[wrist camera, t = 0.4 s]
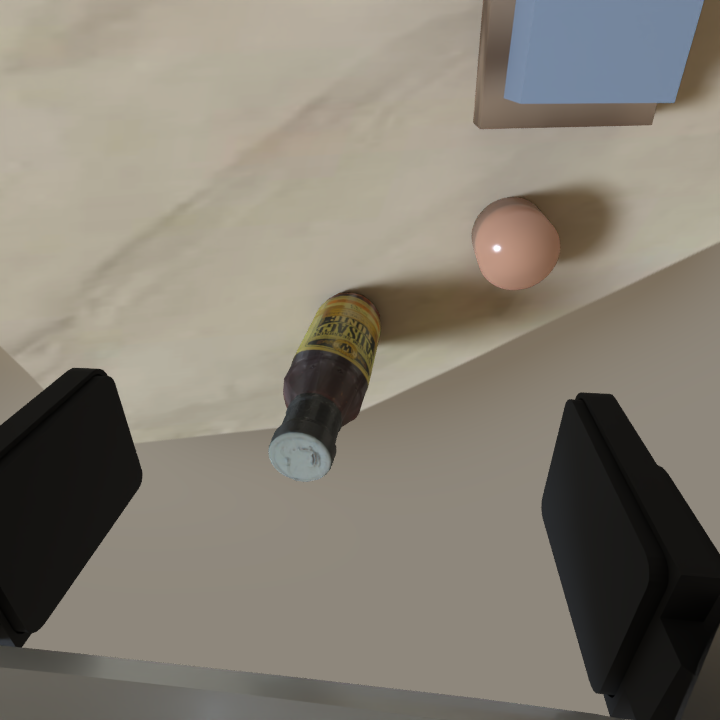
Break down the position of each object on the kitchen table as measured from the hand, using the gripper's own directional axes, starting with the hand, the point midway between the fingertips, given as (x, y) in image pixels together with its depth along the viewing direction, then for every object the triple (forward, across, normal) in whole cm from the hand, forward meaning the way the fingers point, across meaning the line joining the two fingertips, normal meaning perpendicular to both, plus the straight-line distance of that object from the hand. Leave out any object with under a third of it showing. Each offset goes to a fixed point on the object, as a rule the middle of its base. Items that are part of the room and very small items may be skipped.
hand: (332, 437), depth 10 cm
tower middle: (+29, -11, -10) cm, 32 cm away
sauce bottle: (+34, +4, +13) cm, 37 cm away
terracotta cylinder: (+34, -10, +4) cm, 35 cm away
